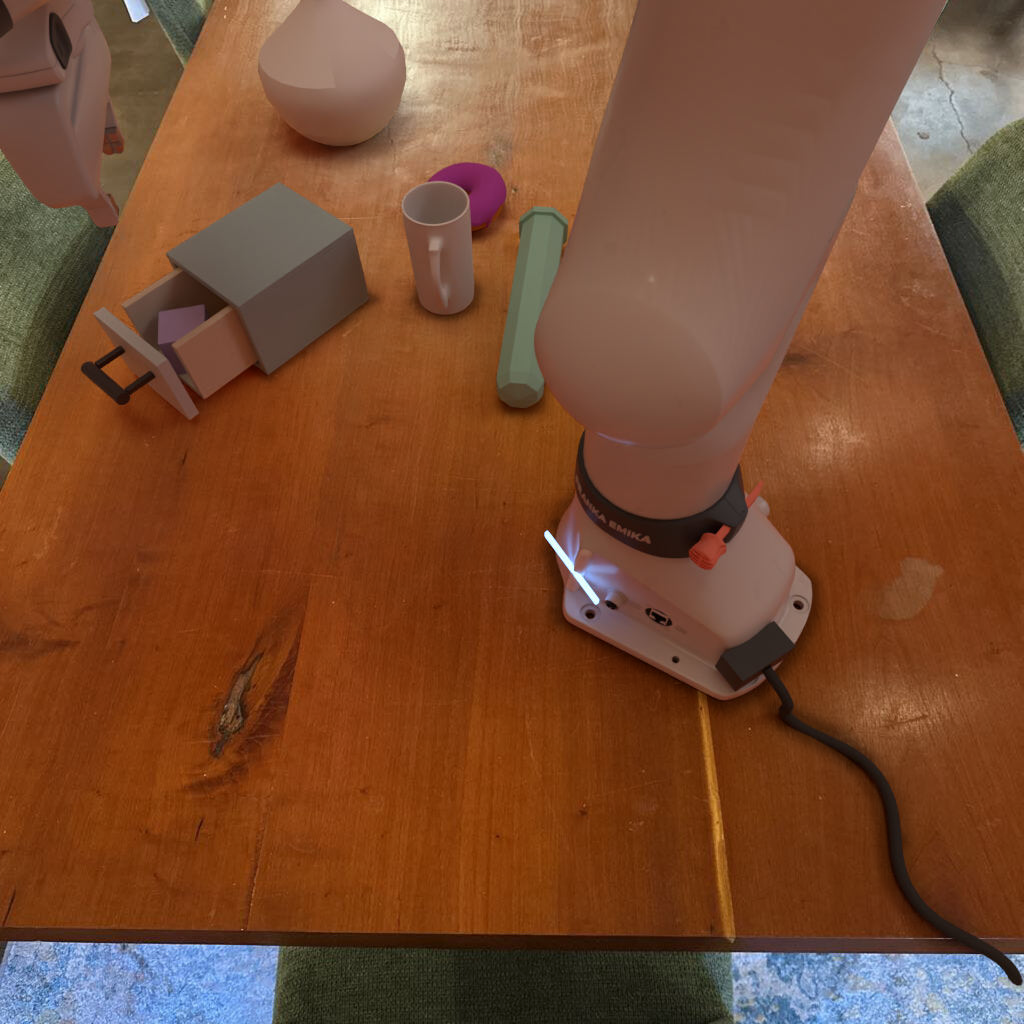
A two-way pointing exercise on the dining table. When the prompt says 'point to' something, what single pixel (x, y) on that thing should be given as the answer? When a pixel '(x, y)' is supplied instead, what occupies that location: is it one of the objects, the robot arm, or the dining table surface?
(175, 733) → the dining table surface
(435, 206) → the mug
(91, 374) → the drawer
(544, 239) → the container
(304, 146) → the dining table surface
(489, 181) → the donut
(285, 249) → the cabinet
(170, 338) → the mauve cube
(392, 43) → the vase
